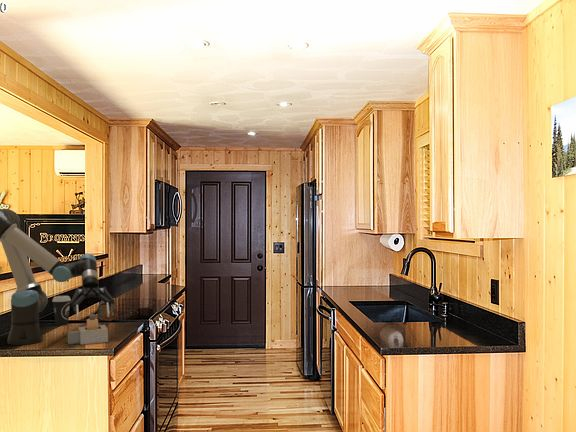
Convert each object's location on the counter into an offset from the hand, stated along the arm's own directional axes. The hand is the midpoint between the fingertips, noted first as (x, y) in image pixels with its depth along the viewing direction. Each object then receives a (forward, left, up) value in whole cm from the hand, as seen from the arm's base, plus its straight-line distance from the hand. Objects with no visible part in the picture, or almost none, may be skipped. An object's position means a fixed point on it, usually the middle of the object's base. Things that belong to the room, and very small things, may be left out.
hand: (93, 316), depth 260 cm
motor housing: (-1, +3, -12) cm, 12 cm away
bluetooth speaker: (+52, +49, -12) cm, 73 cm away
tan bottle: (+1, +2, -12) cm, 12 cm away
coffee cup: (+22, +51, -12) cm, 57 cm away
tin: (+42, +38, -12) cm, 58 cm away
